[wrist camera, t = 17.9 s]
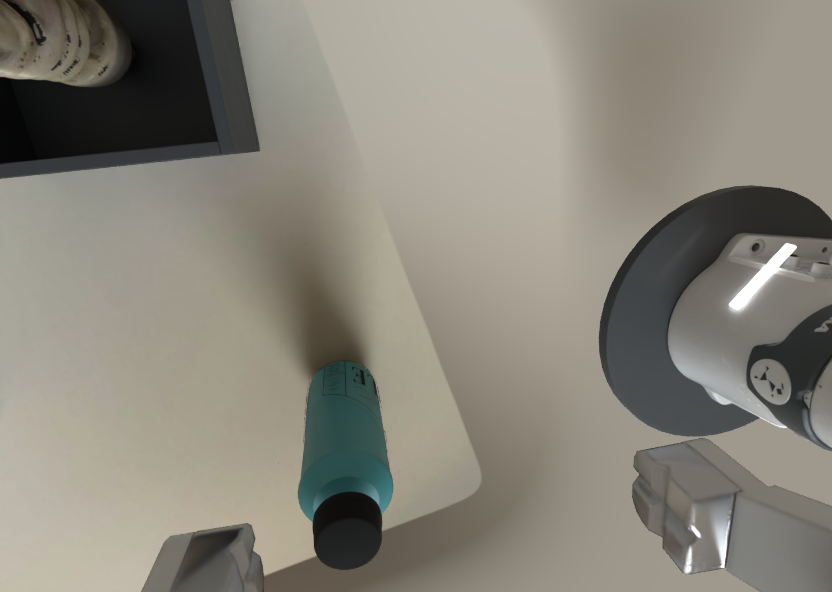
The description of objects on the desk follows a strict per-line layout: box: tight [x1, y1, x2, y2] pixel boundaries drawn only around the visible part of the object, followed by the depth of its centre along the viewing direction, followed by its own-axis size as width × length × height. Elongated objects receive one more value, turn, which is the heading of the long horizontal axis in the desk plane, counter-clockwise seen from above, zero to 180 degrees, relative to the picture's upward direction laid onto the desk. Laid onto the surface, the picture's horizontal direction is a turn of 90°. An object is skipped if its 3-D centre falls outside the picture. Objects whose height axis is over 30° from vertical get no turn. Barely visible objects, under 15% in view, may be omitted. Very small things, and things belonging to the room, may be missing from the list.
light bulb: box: [0, 0, 137, 87], centre depth 27 cm, size 6×6×15 cm
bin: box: [0, 0, 260, 179], centre depth 30 cm, size 17×15×10 cm
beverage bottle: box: [298, 361, 393, 570], centre depth 36 cm, size 6×7×20 cm
